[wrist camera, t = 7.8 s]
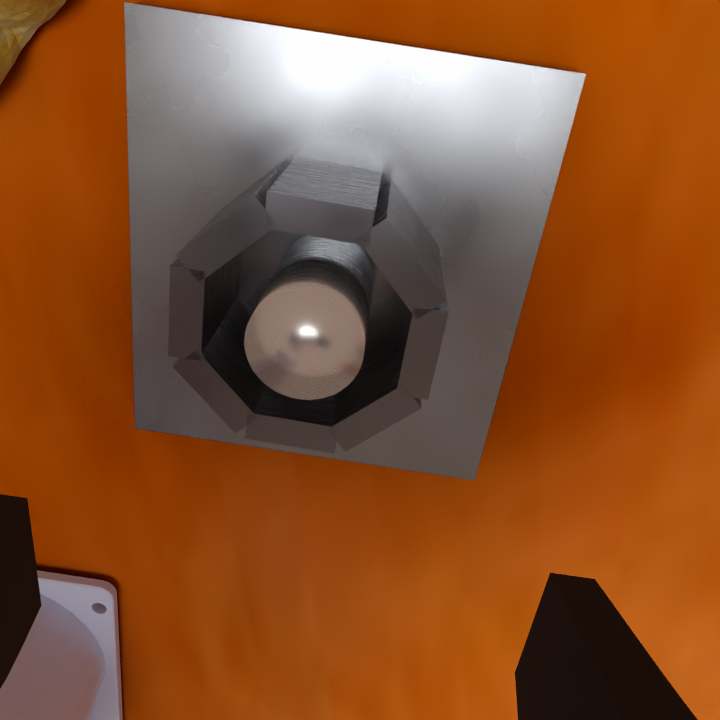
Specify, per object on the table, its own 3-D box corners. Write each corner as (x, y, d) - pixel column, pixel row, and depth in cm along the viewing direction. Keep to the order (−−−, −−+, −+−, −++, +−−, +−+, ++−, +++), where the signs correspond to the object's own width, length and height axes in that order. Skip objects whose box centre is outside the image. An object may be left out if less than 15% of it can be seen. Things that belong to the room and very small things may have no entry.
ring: (411, 389, 18) (412, 466, 15) (208, 355, 18) (166, 425, 15) (457, 184, 15) (469, 226, 12) (220, 143, 15) (172, 175, 12)
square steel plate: (472, 463, 20) (489, 584, 16) (144, 413, 20) (72, 520, 16) (577, 71, 15) (644, 92, 11) (138, 2, 15) (28, -4, 11)
